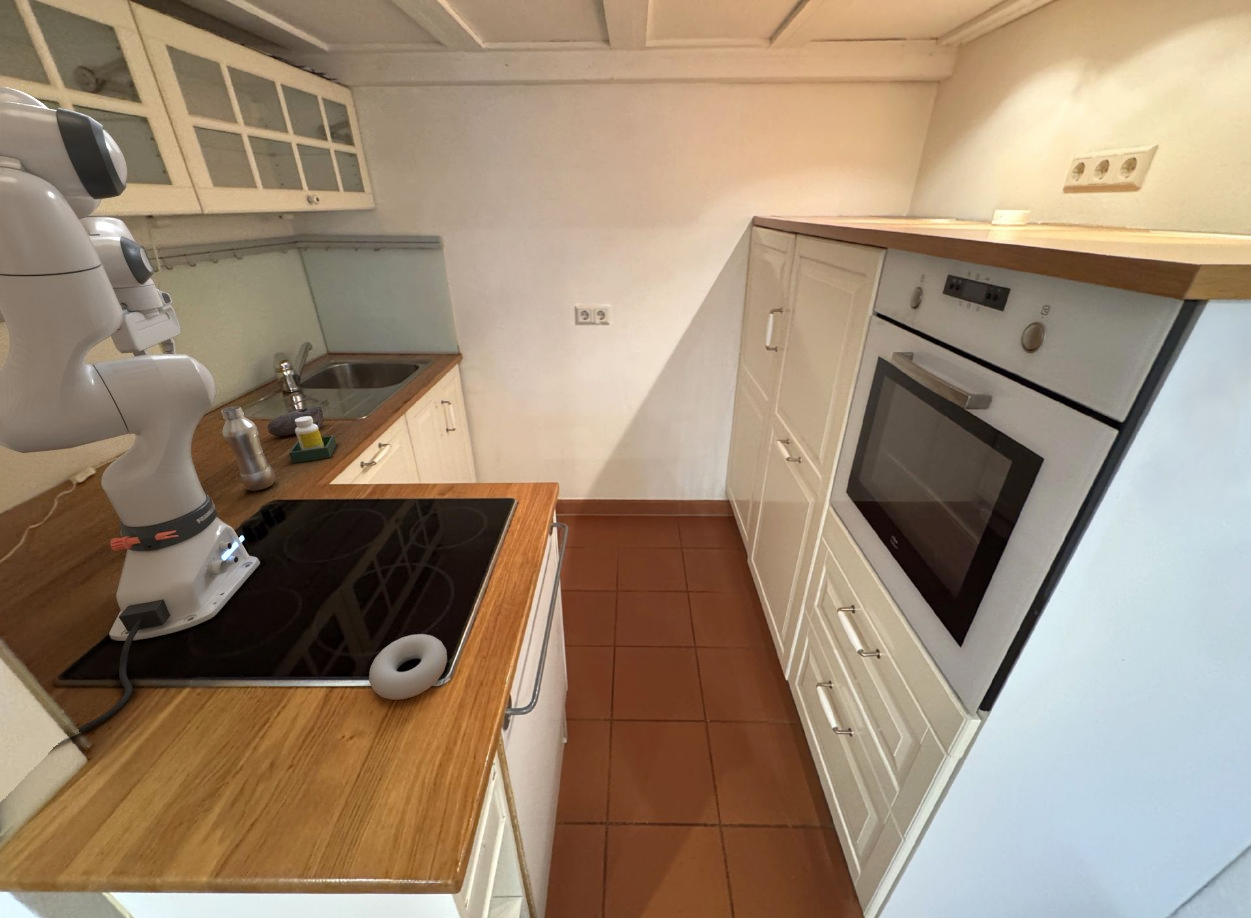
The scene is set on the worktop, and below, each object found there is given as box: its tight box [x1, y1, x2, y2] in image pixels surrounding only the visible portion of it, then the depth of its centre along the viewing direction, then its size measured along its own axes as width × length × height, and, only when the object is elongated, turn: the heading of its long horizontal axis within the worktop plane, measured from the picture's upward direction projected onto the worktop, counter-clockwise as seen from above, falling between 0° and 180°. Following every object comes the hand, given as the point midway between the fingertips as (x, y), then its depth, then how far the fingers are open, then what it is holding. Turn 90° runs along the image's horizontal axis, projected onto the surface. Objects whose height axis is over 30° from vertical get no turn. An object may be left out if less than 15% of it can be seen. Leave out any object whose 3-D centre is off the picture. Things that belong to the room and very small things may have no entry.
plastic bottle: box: [220, 405, 276, 492], centre depth 116 cm, size 6×7×20 cm
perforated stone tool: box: [267, 405, 324, 437], centre depth 149 cm, size 15×5×7 cm, turn 127°
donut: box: [368, 633, 448, 701], centre depth 68 cm, size 10×3×10 cm
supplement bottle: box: [295, 416, 324, 450], centre depth 134 cm, size 5×5×10 cm
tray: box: [288, 434, 337, 464], centre depth 136 cm, size 9×9×3 cm
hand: (162, 363), depth 113 cm, fingers open, 8 cm apart
